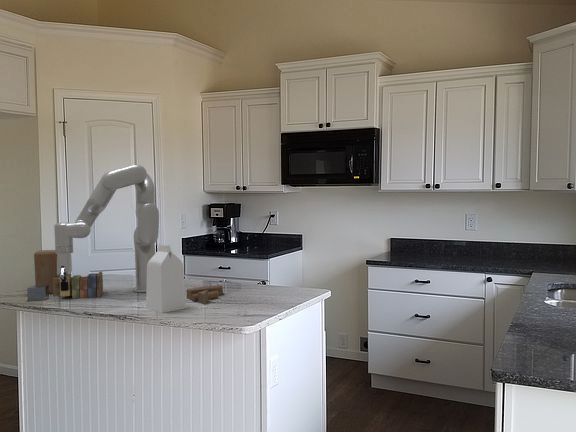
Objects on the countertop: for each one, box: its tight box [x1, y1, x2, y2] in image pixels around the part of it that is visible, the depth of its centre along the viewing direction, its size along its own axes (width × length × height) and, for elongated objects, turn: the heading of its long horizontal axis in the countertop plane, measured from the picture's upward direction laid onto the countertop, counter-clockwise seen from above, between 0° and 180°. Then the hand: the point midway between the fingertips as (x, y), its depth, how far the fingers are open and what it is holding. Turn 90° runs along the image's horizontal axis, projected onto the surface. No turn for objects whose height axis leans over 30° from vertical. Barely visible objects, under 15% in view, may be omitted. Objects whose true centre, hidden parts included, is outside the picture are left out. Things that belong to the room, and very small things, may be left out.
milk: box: [145, 243, 188, 314], centre depth 222 cm, size 12×12×26 cm
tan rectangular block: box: [59, 273, 72, 297], centre depth 248 cm, size 4×6×9 cm, turn 12°
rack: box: [52, 271, 104, 300], centre depth 252 cm, size 22×12×10 cm, turn 102°
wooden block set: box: [186, 284, 224, 305], centre depth 240 cm, size 17×6×18 cm
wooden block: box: [33, 249, 59, 295], centre depth 262 cm, size 10×10×20 cm
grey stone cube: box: [26, 285, 50, 302], centre depth 246 cm, size 8×6×6 cm
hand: (66, 289), depth 249 cm, fingers closed on tan rectangular block, 6 cm apart
